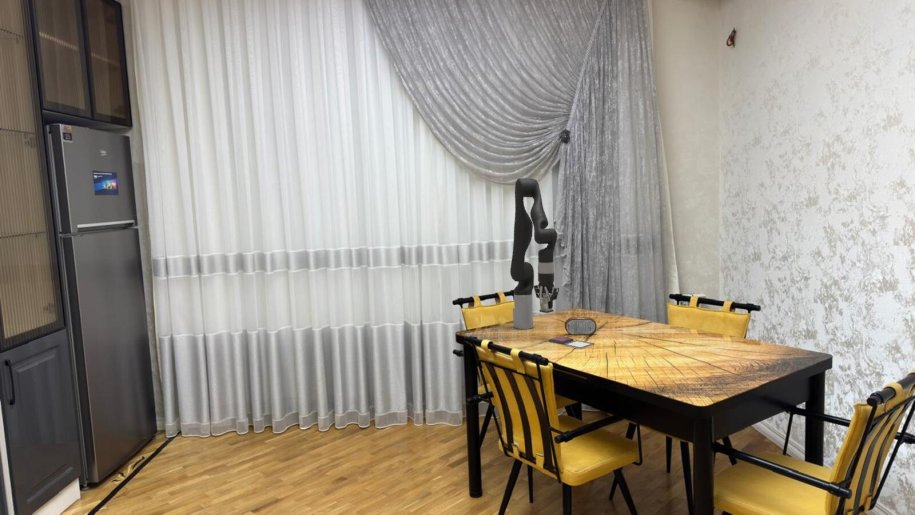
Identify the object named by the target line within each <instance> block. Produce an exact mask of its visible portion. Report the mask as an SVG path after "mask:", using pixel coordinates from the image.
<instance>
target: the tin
mask: <svg viewBox="0 0 915 515" xmlns="http://www.w3.org/2000/svg"><path fill="white" fill-rule="evenodd" d="M564 329H565V331H566V333H567V334H569V335H572V336H591V335H593V334H594V333H595V332H596V330H597V322H596V320H595V319H594V318H593V317H590V316H571V317H568V318H567V319H566V320H565V322H564Z"/></svg>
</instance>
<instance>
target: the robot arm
mask: <svg viewBox="0 0 915 515" xmlns="http://www.w3.org/2000/svg"><path fill="white" fill-rule="evenodd" d="M524 198H531V199H533V204H532V206H531V209H530V212H529V214H530V216H529V214H528V212H527V210H526V207H525V201H524ZM543 204H544V203H543V199H542V193H541V188H540V184H539V182H538V180H537V178H524V177H523V178H521V177H520V178H518V179H517V180H516V181H515V185H514V210H515V211H514V221H513V222H514V224H513V242H512V257H511V263H510V268H509V270H510V271H509V273H510V277H511V279H512V280H513V281H514V282H518V283H517V285H516V287H514V289H513V301H514V302H513V303H514V307H513V308H512V320H513V321H512V323H513V325H512V326H513V328H515V329H519V330H527V329H528V330H529V329H533V328H534V312H533V311H534V309H533V306H534V304H533V289H534V292H535V296H536V298H538V299H539V300H540V297H543V294H544V293H546V295H547V297H548V309H552V307H553V306H554V303H553V302H554V301H556V300H557V299H558V296H559V292H560V287H556V286H555V284H554V282H555V262H554V261H555V260H554V253H555V248H556V245H557V242H558V233H557V231H556V229H555V228H551V227H550V228H547V227H548V226H549V220H548V217H547V215H546V212H545V209H544V205H543ZM532 238H533V239H534V241H535V243H537V245H547V246H546V247H544V248H541V249H539V250H538V253H537V257H538V259H537V260H538V262H537V263H538V264H537V281H538V284H535V281H534V280H535V270H534V267H533V265H532V264H531V263H530V262H527V261H525V260H526V259H525V258H526V253H527V250H528V249H529V246H530V245H531V241H532ZM550 297H551V298H550Z"/></svg>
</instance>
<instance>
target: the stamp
mask: <svg viewBox="0 0 915 515" xmlns="http://www.w3.org/2000/svg"><path fill="white" fill-rule="evenodd" d="M550 298H551V297H550ZM539 307H540V309H539V313H545V314H548V313H552V312H553V313H554V309H553V307H552V309H548V297H547V295H546V293H544V294H543V297H540V299H539Z"/></svg>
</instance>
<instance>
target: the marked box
mask: <svg viewBox="0 0 915 515" xmlns="http://www.w3.org/2000/svg"><path fill="white" fill-rule="evenodd" d="M594 345H596V344H595V343H594V342H589V341H584V340H580V339H575V340H574V341H572V342H568V343H565V344H562V346H565V347H569V348H574V349H578V350H583V349H586V348H589V347H592V346H594Z"/></svg>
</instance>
